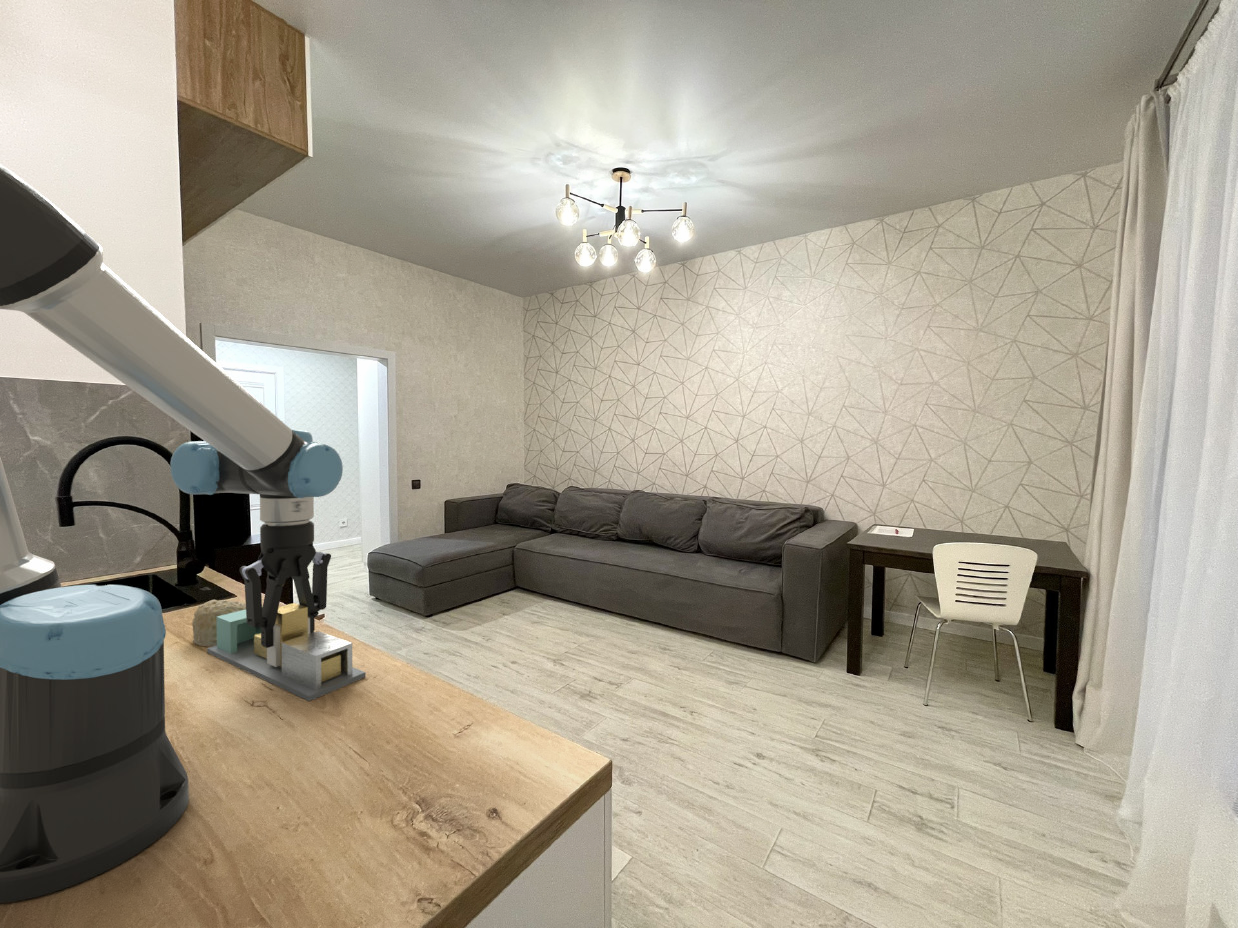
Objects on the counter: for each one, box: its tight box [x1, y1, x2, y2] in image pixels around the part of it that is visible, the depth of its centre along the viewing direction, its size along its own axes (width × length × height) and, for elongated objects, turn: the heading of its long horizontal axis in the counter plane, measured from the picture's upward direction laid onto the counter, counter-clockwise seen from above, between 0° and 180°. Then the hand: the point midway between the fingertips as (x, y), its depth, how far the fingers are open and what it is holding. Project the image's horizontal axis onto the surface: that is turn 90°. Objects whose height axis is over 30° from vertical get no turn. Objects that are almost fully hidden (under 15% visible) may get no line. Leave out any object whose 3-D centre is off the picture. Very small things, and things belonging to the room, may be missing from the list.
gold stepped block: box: [254, 602, 341, 682], centre depth 84 cm, size 4×20×9 cm, turn 61°
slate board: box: [206, 638, 367, 702], centre depth 86 cm, size 9×32×1 cm, turn 61°
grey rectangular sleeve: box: [282, 630, 353, 689], centre depth 81 cm, size 6×10×5 cm, turn 61°
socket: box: [216, 609, 261, 654], centre depth 92 cm, size 7×5×6 cm
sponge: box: [192, 599, 246, 647], centre depth 97 cm, size 9×10×10 cm
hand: (289, 658), depth 85 cm, fingers closed on gold stepped block, 4 cm apart
